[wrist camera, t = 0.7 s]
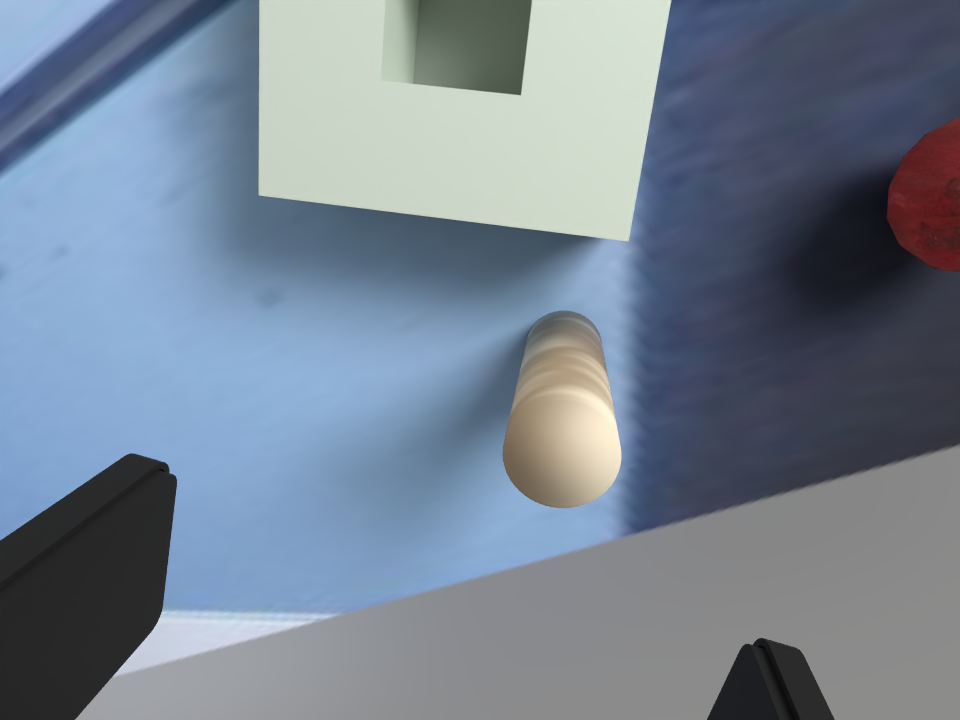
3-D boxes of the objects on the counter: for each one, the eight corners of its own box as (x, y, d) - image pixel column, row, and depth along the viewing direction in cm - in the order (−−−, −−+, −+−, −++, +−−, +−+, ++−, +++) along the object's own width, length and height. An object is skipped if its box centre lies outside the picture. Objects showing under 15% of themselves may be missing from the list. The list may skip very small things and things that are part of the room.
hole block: (679, -144, 25) (712, -232, 19) (616, 224, 29) (628, 241, 24) (326, -169, 26) (260, -259, 21) (315, 188, 31) (258, 195, 25)
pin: (607, 316, 31) (630, 409, 19) (595, 388, 32) (610, 516, 20) (531, 306, 31) (510, 392, 20) (521, 377, 32) (496, 498, 21)
